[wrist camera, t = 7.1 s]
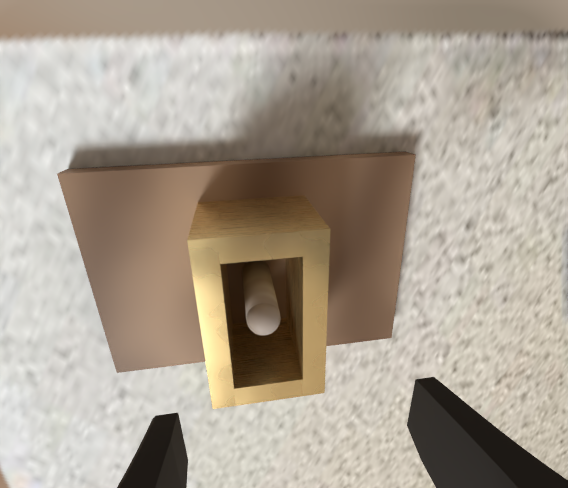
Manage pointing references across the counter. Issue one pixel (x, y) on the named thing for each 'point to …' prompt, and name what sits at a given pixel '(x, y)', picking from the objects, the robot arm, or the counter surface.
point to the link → (299, 298)
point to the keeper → (243, 275)
